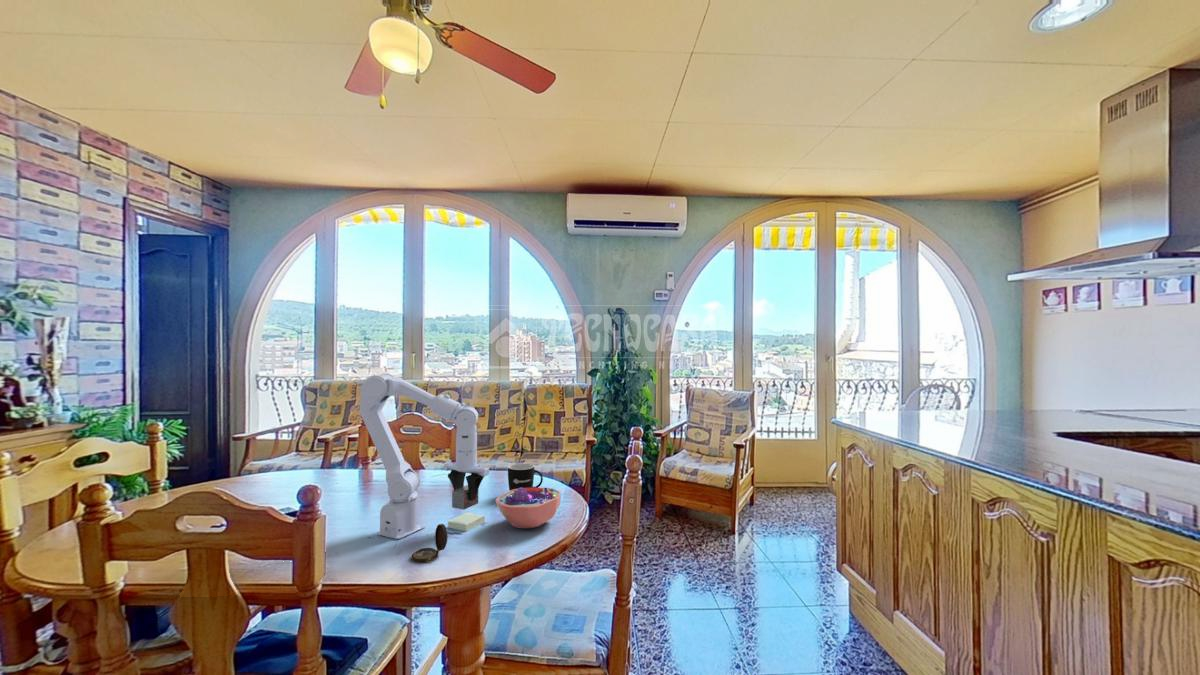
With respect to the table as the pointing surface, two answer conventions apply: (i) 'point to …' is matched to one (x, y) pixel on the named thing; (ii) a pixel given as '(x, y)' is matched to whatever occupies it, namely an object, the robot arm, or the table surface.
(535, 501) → the cell model
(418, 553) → the compass
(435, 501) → the table surface
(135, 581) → the table surface
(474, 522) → the stand
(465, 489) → the block
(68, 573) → the table surface
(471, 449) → the robot arm
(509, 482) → the mug
